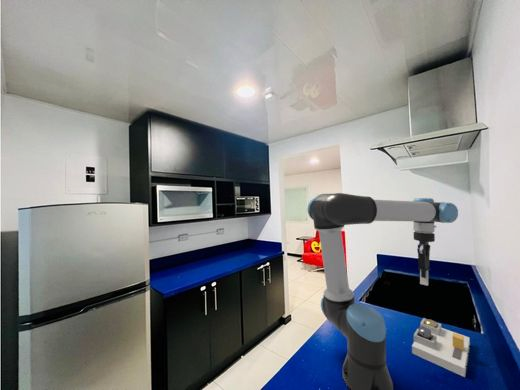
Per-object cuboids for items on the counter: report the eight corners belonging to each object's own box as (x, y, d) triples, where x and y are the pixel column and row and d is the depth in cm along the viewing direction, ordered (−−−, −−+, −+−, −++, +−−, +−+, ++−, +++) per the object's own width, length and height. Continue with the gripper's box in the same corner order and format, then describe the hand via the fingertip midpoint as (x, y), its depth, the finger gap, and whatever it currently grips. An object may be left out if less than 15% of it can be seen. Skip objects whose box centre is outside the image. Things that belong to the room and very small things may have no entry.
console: (464, 377, 71) (464, 361, 71) (411, 353, 82) (411, 339, 83) (469, 344, 87) (469, 331, 87) (424, 328, 98) (424, 316, 98)
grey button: (430, 341, 82) (430, 334, 82) (417, 336, 85) (417, 329, 85) (432, 337, 85) (432, 329, 85) (420, 332, 88) (419, 325, 88)
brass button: (435, 332, 90) (435, 325, 90) (424, 328, 93) (424, 321, 93) (437, 328, 93) (437, 321, 93) (426, 324, 96) (426, 318, 96)
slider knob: (463, 350, 79) (463, 339, 79) (452, 346, 81) (452, 336, 81) (464, 346, 81) (463, 336, 81) (453, 342, 83) (453, 332, 83)
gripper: (431, 234, 87) (432, 291, 86) (437, 231, 95) (437, 283, 94) (410, 232, 92) (410, 285, 91) (417, 229, 101) (417, 278, 100)
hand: (424, 284), depth 93 cm, fingers closed
